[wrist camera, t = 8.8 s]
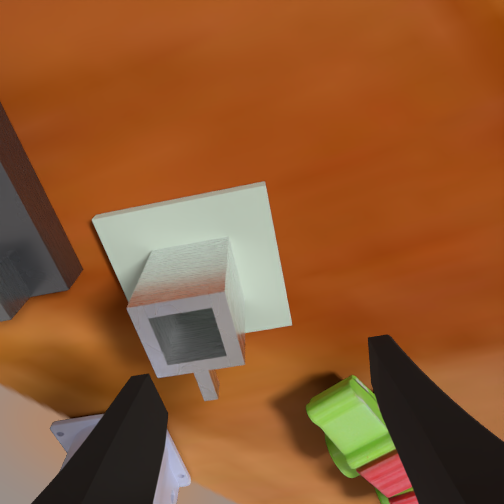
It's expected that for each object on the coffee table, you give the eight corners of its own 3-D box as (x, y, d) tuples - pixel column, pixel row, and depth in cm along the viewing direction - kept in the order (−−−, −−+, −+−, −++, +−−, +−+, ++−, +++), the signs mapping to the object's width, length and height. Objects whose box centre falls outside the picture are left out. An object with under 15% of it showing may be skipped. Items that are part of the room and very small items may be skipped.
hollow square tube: (251, 326, 23) (253, 393, 18) (184, 337, 23) (170, 406, 19) (228, 236, 20) (224, 291, 15) (151, 250, 20) (126, 308, 16)
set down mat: (291, 318, 23) (292, 325, 23) (151, 342, 24) (149, 348, 23) (264, 181, 19) (265, 185, 18) (95, 215, 20) (91, 219, 19)
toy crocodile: (284, 380, 26) (294, 466, 21) (369, 336, 24) (403, 418, 19) (406, 502, 34) (436, 587, 29) (477, 475, 32) (523, 561, 27)
